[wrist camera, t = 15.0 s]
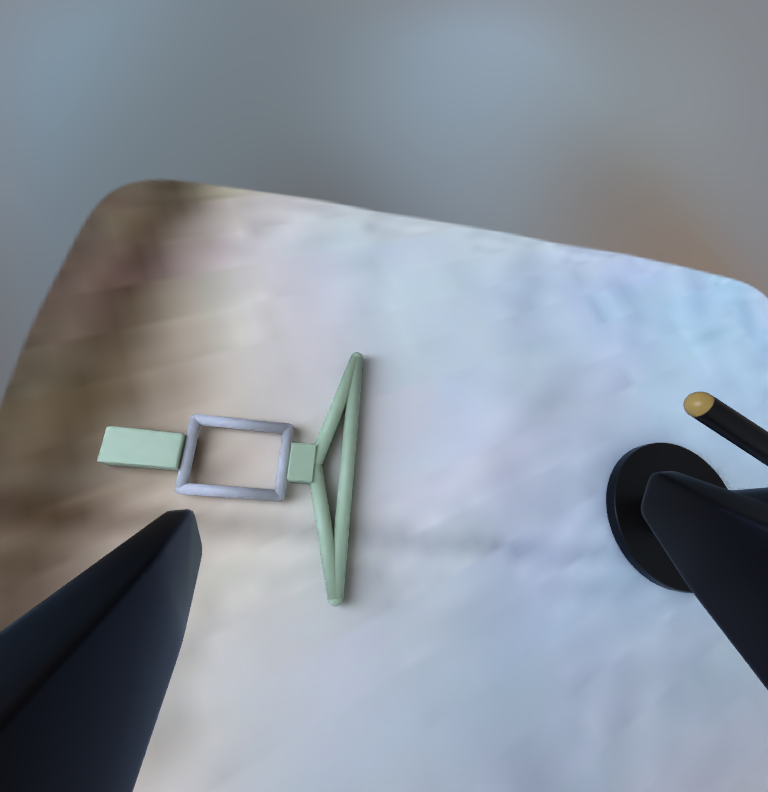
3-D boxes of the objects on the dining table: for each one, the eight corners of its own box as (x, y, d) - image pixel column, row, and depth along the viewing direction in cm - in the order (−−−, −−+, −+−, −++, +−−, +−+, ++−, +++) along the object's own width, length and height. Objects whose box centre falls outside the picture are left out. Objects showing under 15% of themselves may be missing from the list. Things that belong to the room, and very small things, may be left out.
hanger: (365, 350, 22) (137, 317, 20) (343, 608, 18) (56, 600, 16) (362, 357, 22) (144, 327, 20) (341, 604, 19) (70, 595, 17)
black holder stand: (711, 621, 22) (967, 680, 13) (530, 502, 22) (672, 487, 13) (741, 491, 25) (966, 474, 16) (580, 386, 25) (724, 315, 16)
